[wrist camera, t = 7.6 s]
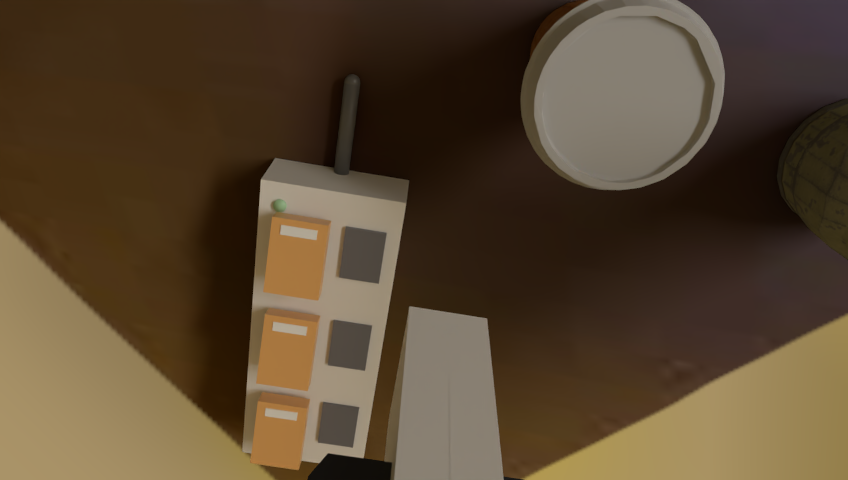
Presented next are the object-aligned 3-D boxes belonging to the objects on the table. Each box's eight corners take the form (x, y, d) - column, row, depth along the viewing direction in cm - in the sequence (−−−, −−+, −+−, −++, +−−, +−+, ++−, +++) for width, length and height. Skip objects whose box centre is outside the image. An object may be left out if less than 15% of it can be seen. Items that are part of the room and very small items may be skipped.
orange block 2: (269, 307, 46) (264, 314, 45) (320, 315, 46) (317, 322, 45) (260, 375, 47) (255, 384, 45) (310, 382, 47) (307, 391, 46)
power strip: (282, 59, 43) (265, 76, 39) (425, 84, 44) (423, 103, 40) (255, 416, 55) (240, 457, 51) (366, 433, 56) (360, 475, 52)
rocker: (262, 391, 49) (257, 401, 47) (310, 399, 49) (307, 408, 48) (254, 452, 50) (250, 463, 49) (301, 459, 50) (298, 470, 49)
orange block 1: (276, 211, 43) (271, 216, 41) (331, 220, 43) (328, 225, 42) (267, 285, 44) (262, 292, 43) (321, 293, 44) (318, 301, 43)
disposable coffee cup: (649, 128, 45) (715, 199, 34) (500, 129, 45) (518, 199, 34) (670, -31, 40) (753, -9, 30) (506, -29, 41) (528, -6, 30)
